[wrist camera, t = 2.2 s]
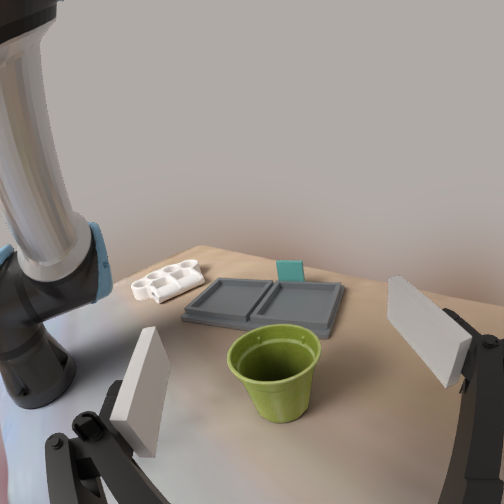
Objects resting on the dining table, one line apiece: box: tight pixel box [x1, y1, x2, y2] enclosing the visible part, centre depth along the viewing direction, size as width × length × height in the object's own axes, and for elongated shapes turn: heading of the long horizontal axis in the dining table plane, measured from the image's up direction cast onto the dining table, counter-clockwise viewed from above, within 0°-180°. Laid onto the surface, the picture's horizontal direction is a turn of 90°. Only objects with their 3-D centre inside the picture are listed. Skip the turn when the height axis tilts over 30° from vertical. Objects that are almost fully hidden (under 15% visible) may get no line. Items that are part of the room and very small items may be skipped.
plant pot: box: [227, 324, 321, 423], centre depth 29 cm, size 9×9×9 cm
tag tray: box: [181, 260, 345, 339], centre depth 52 cm, size 27×15×6 cm, turn 65°
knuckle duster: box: [131, 259, 205, 303], centre depth 68 cm, size 3×18×15 cm
